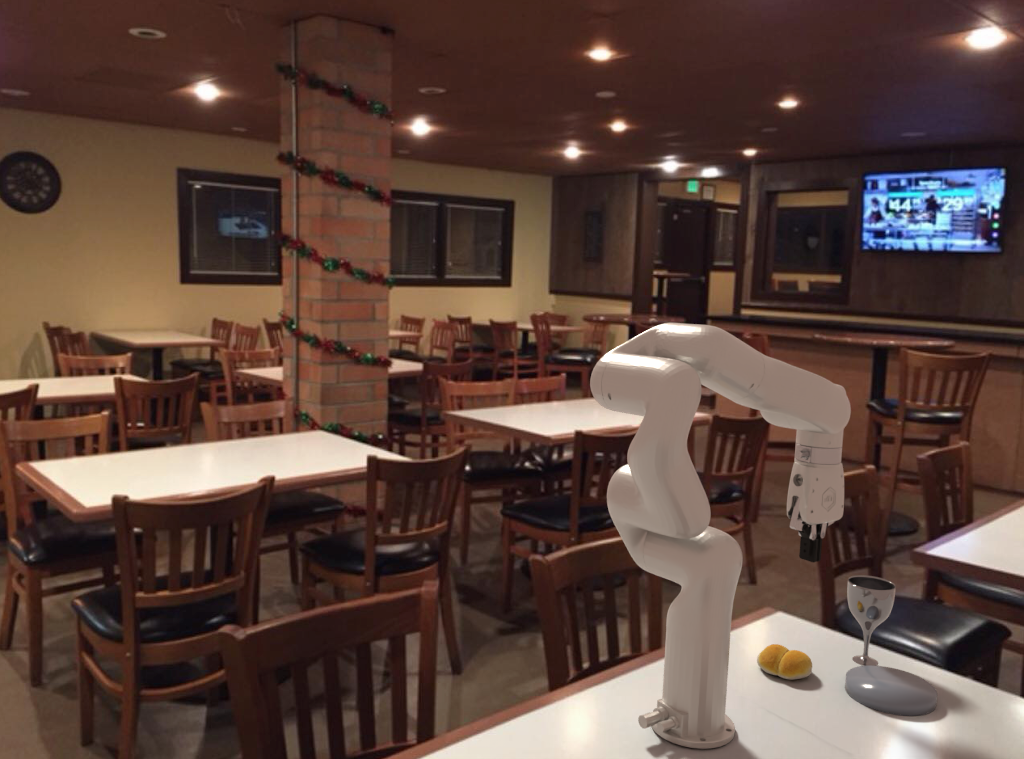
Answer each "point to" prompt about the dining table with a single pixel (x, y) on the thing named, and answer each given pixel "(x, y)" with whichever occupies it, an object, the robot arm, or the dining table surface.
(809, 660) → the bread roll
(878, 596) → the wine glass
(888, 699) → the plate
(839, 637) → the dining table surface
